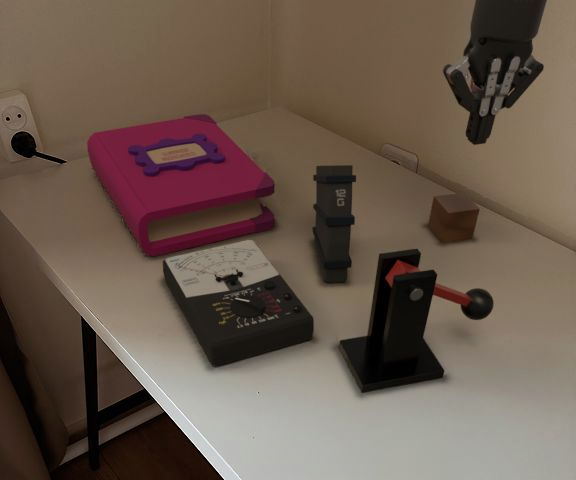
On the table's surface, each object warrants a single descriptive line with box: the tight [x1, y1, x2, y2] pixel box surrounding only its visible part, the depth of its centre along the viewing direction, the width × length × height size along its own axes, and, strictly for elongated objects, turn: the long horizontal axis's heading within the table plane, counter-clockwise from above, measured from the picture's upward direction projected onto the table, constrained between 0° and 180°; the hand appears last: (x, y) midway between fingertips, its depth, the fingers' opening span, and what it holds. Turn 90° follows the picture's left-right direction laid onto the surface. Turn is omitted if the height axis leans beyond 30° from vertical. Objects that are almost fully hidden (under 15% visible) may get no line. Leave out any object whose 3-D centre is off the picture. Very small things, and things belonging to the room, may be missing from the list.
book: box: [86, 113, 276, 257], centre depth 99 cm, size 21×28×8 cm
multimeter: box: [162, 239, 315, 367], centre depth 80 cm, size 13×19×5 cm
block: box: [427, 192, 481, 244], centre depth 95 cm, size 5×5×5 cm
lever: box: [385, 260, 495, 321], centre depth 70 cm, size 14×4×4 cm, turn 105°
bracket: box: [338, 248, 445, 394], centre depth 70 cm, size 10×8×14 cm
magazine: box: [311, 164, 357, 284], centre depth 86 cm, size 4×13×15 cm, turn 6°
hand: (476, 141), depth 81 cm, fingers closed
